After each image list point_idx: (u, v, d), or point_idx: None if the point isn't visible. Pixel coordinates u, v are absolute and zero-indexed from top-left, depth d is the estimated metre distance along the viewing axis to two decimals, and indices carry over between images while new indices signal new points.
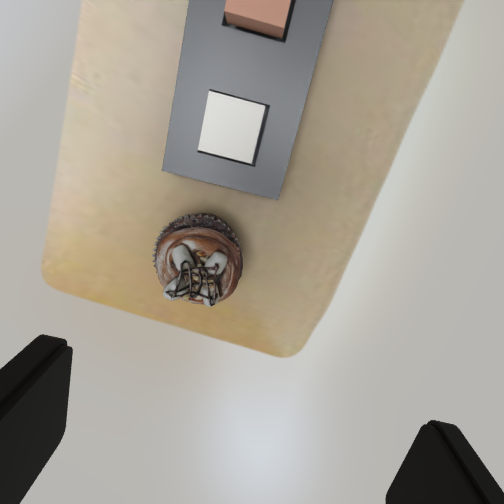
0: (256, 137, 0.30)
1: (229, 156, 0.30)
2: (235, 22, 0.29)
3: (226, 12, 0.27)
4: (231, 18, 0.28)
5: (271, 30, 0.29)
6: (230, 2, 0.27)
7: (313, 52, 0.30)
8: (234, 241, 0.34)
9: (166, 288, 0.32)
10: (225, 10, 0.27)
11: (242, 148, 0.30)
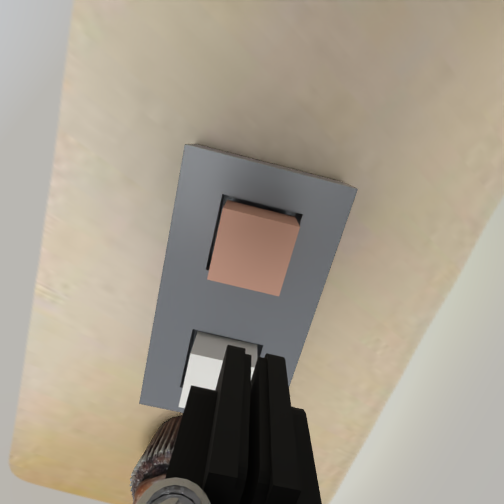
0: None
1: None
2: None
3: None
4: None
5: None
6: (214, 272, 0.22)
7: (313, 297, 0.25)
8: None
9: None
10: (208, 279, 0.22)
11: None
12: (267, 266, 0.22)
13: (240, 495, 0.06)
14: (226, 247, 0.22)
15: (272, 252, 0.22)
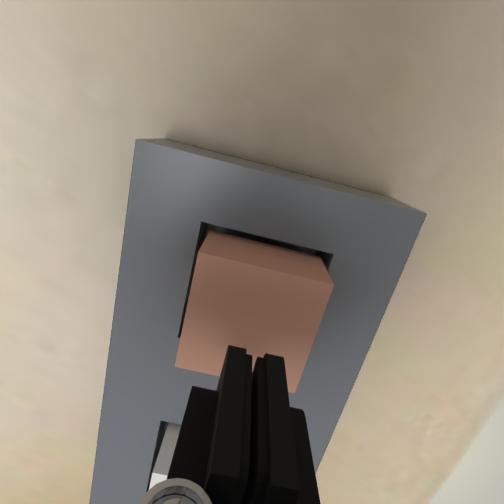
0: None
1: None
2: None
3: None
4: None
5: None
6: (185, 355, 0.13)
7: (346, 377, 0.16)
8: None
9: None
10: (177, 365, 0.13)
11: None
12: (275, 347, 0.13)
13: (241, 496, 0.06)
14: (205, 317, 0.13)
15: (284, 325, 0.13)
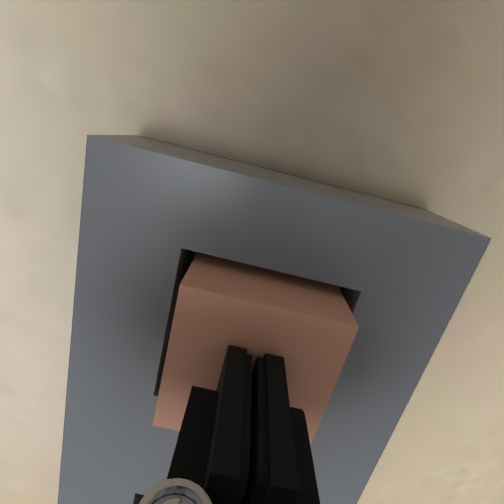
0: None
1: None
2: None
3: None
4: None
5: None
6: (166, 412, 0.10)
7: (372, 444, 0.13)
8: None
9: None
10: (155, 424, 0.10)
11: None
12: None
13: (242, 496, 0.06)
14: (190, 366, 0.10)
15: (293, 377, 0.10)
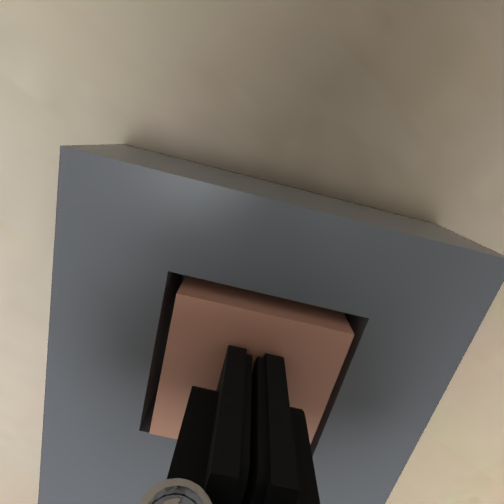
0: None
1: None
2: None
3: None
4: None
5: None
6: (163, 420, 0.10)
7: (380, 483, 0.11)
8: None
9: None
10: (152, 432, 0.10)
11: None
12: None
13: (241, 496, 0.06)
14: (187, 374, 0.10)
15: (289, 384, 0.10)
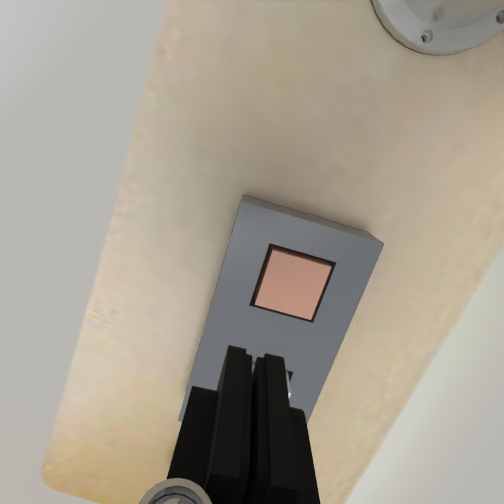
0: None
1: None
2: None
3: None
4: None
5: None
6: (261, 299, 0.28)
7: (340, 331, 0.29)
8: None
9: None
10: (256, 304, 0.28)
11: None
12: (303, 296, 0.28)
13: (242, 496, 0.06)
14: (272, 280, 0.28)
15: (308, 285, 0.28)
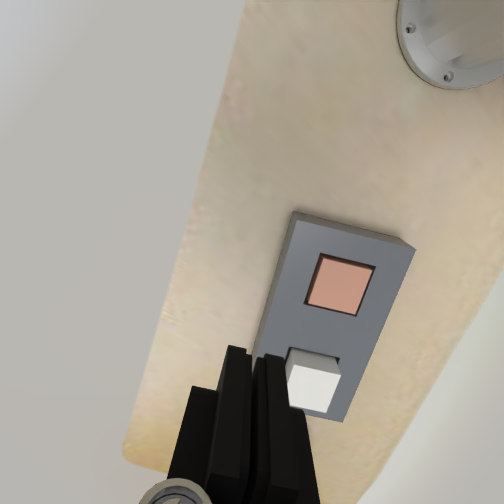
0: (331, 395, 0.35)
1: (307, 408, 0.36)
2: None
3: None
4: None
5: None
6: (313, 298, 0.34)
7: (379, 323, 0.35)
8: None
9: None
10: (309, 303, 0.34)
11: (319, 402, 0.35)
12: (348, 294, 0.34)
13: (241, 496, 0.06)
14: (322, 283, 0.33)
15: (352, 286, 0.33)
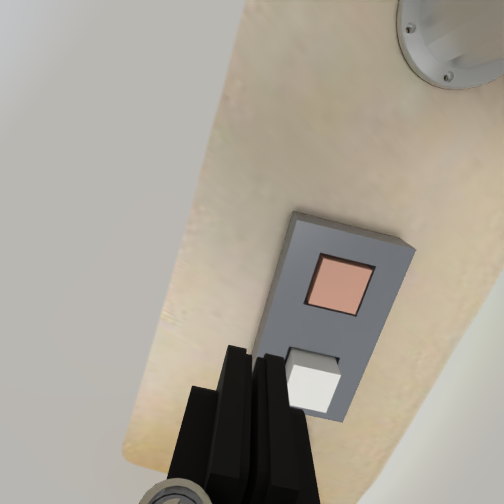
0: (331, 395, 0.35)
1: (307, 408, 0.36)
2: None
3: None
4: None
5: None
6: (313, 298, 0.34)
7: (379, 323, 0.35)
8: None
9: None
10: (309, 303, 0.34)
11: (319, 402, 0.35)
12: (348, 294, 0.34)
13: (241, 496, 0.06)
14: (322, 283, 0.33)
15: (352, 286, 0.33)
